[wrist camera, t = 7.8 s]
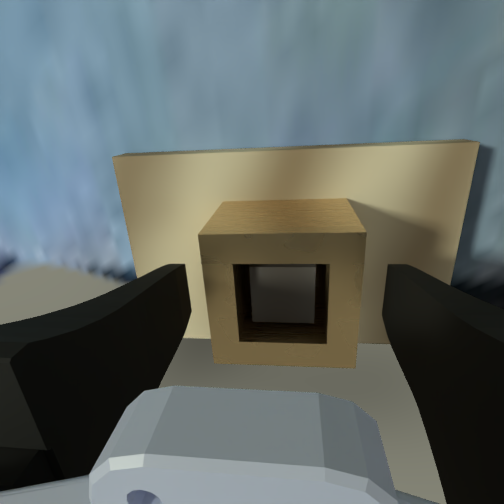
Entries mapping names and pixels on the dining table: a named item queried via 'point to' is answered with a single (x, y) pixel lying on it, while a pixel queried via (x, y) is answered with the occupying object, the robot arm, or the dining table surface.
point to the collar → (284, 252)
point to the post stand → (302, 187)
